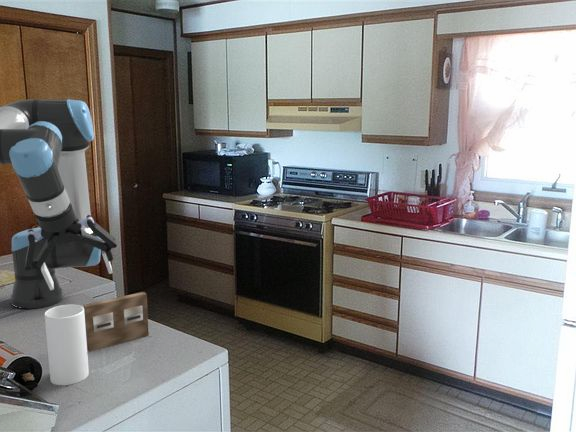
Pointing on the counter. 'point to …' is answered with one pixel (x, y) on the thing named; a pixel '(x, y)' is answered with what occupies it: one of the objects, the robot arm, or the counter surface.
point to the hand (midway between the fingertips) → (81, 278)
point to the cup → (66, 344)
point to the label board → (116, 320)
